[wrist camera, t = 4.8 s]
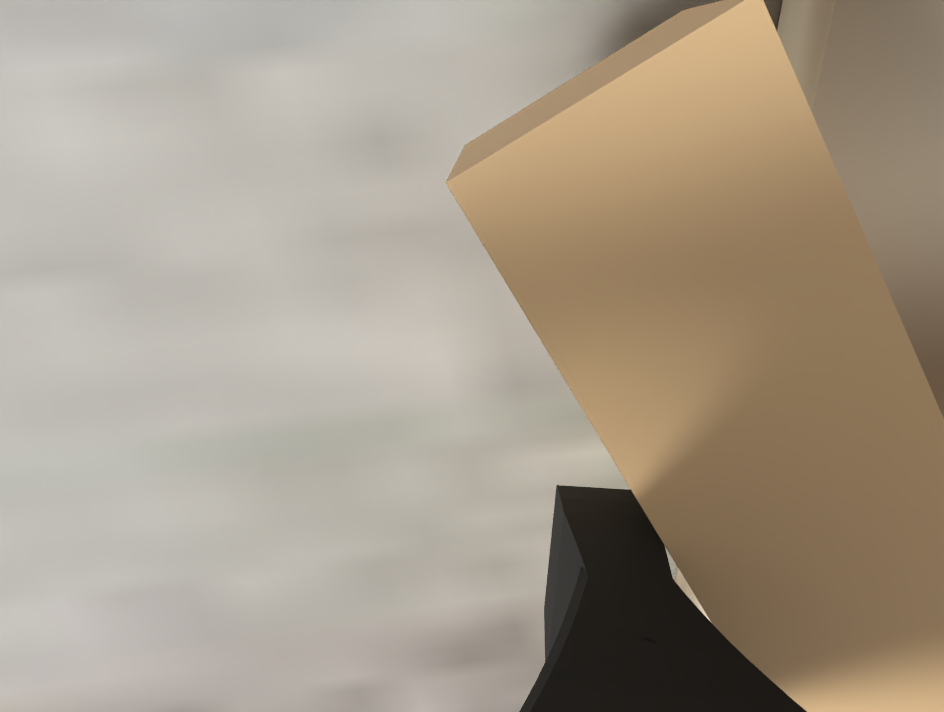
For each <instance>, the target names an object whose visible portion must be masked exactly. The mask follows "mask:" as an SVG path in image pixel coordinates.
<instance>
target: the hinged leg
mask: <svg viewBox="0 0 944 712" xmlns="http://www.w3.org/2000/svg"><path fill="white" fill-rule="evenodd" d="M446 184H447V186H448V188H449V189H450V191H451V193H452V194H453V196H454V198H455V199H456V201H457V203H458V204H459V206H460V207H461V209H462V211H463V212H464V214H465V216H466V217H467V219H468V221H469V222H470V224H471V226H472V227H473V229H474V231H475V232H476V234H477V236H478V237H479V239H480V241H481V242H482V244H483V246H484V247H485V249H486V251H487V252H488V254H489V255H490V257H491V259H492V260H493V262H494V264H495V265H496V267H497V269H498V270H499V272H500V274H501V275H502V277H503V279H504V280H505V282H506V284H507V285H508V287H509V289H510V290H511V292H512V294H513V295H514V297H515V298H516V300H517V302H518V303H519V305H520V307H521V308H522V310H523V312H524V313H525V315H526V317H527V318H528V320H529V322H530V323H531V325H532V327H533V328H534V330H535V332H536V333H537V335H538V337H539V338H540V340H541V342H542V343H543V345H544V346H545V348H546V350H547V351H548V353H549V355H550V356H551V358H552V360H553V361H554V363H555V365H556V366H557V368H558V370H559V371H560V373H561V375H562V376H563V378H564V380H565V381H566V383H567V385H568V386H569V388H570V390H571V391H572V393H573V394H574V396H575V398H576V399H577V401H578V403H579V404H580V406H581V408H582V409H583V411H584V413H585V414H586V416H587V418H588V419H589V421H590V423H591V424H592V426H593V428H594V429H595V431H596V433H597V434H598V436H599V438H600V439H601V441H602V442H603V444H604V446H605V447H606V449H607V451H608V452H609V454H610V456H611V457H612V459H613V461H614V462H615V464H616V466H617V467H618V469H619V471H620V472H621V474H622V476H623V477H624V479H625V481H626V482H627V484H628V485H629V487H630V489H631V490H632V492H633V494H634V495H635V497H636V499H637V500H638V502H639V504H640V505H641V507H642V509H643V510H644V512H645V514H646V515H647V517H648V519H649V520H650V522H651V524H652V525H653V527H654V529H655V530H656V532H657V533H658V535H659V537H660V538H661V540H662V542H663V543H664V545H665V547H666V548H667V550H668V552H669V553H670V555H671V557H672V558H673V560H674V562H675V563H676V565H677V567H678V568H679V570H680V572H681V573H682V575H683V577H684V578H685V580H686V581H687V583H688V585H689V586H690V588H691V590H692V591H693V593H694V595H695V596H696V598H697V600H698V601H699V603H700V605H701V606H702V608H703V610H704V611H705V613H706V615H707V616H708V618H709V620H710V621H711V623H712V624H713V625H714V626H715V627H716V628H717V629H718V630H719V631H720V632H721V633H722V634H723V635H724V636H725V637H726V639H727V640H728V641H729V642H730V643H731V644H733V645H734V646H735V647H736V648H737V649H738V650H739V651H740V652H741V653H742V654H743V655H744V656H745V657H746V658H747V659H748V660H749V661H750V662H751V663H752V664H754V665H755V666H756V667H757V668H758V669H759V670H760V671H761V672H762V673H764V674H765V675H766V676H767V677H768V678H769V679H770V680H771V681H772V682H774V683H775V684H776V685H777V686H778V687H779V688H780V689H781V690H783V691H784V692H785V693H786V694H787V695H788V696H789V697H790V698H791V699H793V700H794V701H795V702H796V703H797V704H798V705H800V706H801V707H802V708H803V709H805V710H806V711H807V712H944V418H943V416H942V413H941V411H940V409H939V407H938V404H937V402H936V400H935V397H934V395H933V393H932V390H931V388H930V386H929V383H928V381H927V379H926V376H925V374H924V372H923V369H922V367H921V365H920V362H919V360H918V358H917V355H916V353H915V351H914V349H913V346H912V344H911V342H910V339H909V337H908V335H907V332H906V330H905V328H904V325H903V323H902V321H901V318H900V316H899V314H898V311H897V309H896V307H895V304H894V302H893V300H892V298H891V295H890V293H889V291H888V288H887V286H886V284H885V281H884V279H883V277H882V274H881V272H880V270H879V267H878V265H877V263H876V260H875V258H874V256H873V253H872V251H871V249H870V246H869V244H868V242H867V240H866V237H865V235H864V233H863V230H862V228H861V226H860V223H859V221H858V219H857V216H856V214H855V212H854V209H853V207H852V205H851V202H850V200H849V198H848V195H847V193H846V191H845V188H844V186H843V184H842V182H841V179H840V177H839V175H838V172H837V170H836V168H835V165H834V163H833V161H832V158H831V156H830V154H829V151H828V149H827V147H826V144H825V142H824V140H823V137H822V135H821V133H820V130H819V128H818V126H817V124H816V121H815V119H814V117H813V114H812V112H811V110H810V107H809V105H808V103H807V100H806V98H805V96H804V93H803V91H802V89H801V86H800V84H799V82H798V79H797V77H796V75H795V72H794V70H793V68H792V66H791V63H790V61H789V59H788V56H787V54H786V52H785V49H784V47H783V45H782V42H781V40H780V38H779V35H778V33H777V31H776V28H775V26H774V24H773V21H772V19H771V17H770V14H769V12H768V10H767V8H766V5H765V3H764V1H763V0H722V1H718V2H714V3H710V4H705V5H701V6H697V7H693V8H689V9H685V10H682V11H681V12H679V13H678V14H676V15H674V16H673V17H671V18H670V19H668V20H666V21H665V22H663V23H661V24H660V25H658V26H657V27H655V28H653V29H652V30H650V31H649V32H647V33H645V34H644V35H642V36H640V37H639V38H637V39H636V40H634V41H632V42H631V43H629V44H628V45H626V46H624V47H623V48H621V49H619V50H618V51H616V52H615V53H613V54H611V55H610V56H608V57H607V58H605V59H603V60H602V61H600V62H598V63H597V64H595V65H594V66H592V67H590V68H589V69H587V70H586V71H584V72H582V73H581V74H579V75H577V76H576V77H574V78H573V79H571V80H569V81H568V82H566V83H565V84H563V85H561V86H560V87H558V88H557V89H555V90H553V91H552V92H550V93H548V94H547V95H545V96H544V97H542V98H540V99H539V100H537V101H536V102H534V103H532V104H531V105H529V106H527V107H526V108H524V109H523V110H521V111H519V112H518V113H516V114H515V115H513V116H511V117H510V118H508V119H506V120H505V121H503V122H502V123H500V124H498V125H497V126H495V127H494V128H492V129H490V130H489V131H487V132H485V133H484V134H482V135H481V136H479V137H477V138H476V139H474V140H473V141H471V142H469V143H468V144H466V145H465V146H464V148H463V150H462V152H461V154H460V156H459V158H458V160H457V162H456V164H455V166H454V168H453V169H452V171H451V173H450V175H449V177H448V179H447V181H446Z"/></svg>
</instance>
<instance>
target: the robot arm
mask: <svg viewBox="0 0 944 712" xmlns="http://www.w3.org/2000/svg"><path fill="white" fill-rule="evenodd" d="M544 620H545V664H544V666H543V668H542V670H541V672H540V674H539V677H538V679H537V681H536V682H535V684H534V686H533V688H532V690H531V692H530V694H529V695H528V697H527V699H526V701H525V703H524V704H523V706H522V708H521V710H520V712H807V711H806V710H805V709H803V708H802V707H801V706H800V705H798V704H797V703H796V702H795V701H794V700H793V699H791V698H790V697H789V696H788V695H787V694H786V693H785V692H784V691H783V690H781V689H780V688H779V687H778V686H777V685H776V684H775V683H774V682H772V681H771V680H770V679H769V678H768V677H767V676H766V675H765V674H764V673H762V672H761V671H760V670H759V669H758V668H757V667H756V666H755V665H754V664H752V663H751V662H750V661H749V660H748V659H747V658H746V657H745V656H744V655H743V654H742V653H741V652H740V651H739V650H738V649H737V648H736V647H735V646H734V645H733V644H731V643H730V642H729V641H728V640H727V639H726V637H725V636H724V635H723V634H722V633H721V632H720V631H719V630H718V629H717V628H716V627H715V626H714V625H713V624H712V623H711V622H710V621H709V620H708V619H707V617H706V616H705V615H704V614H703V613H702V612H701V611H700V610H699V609H698V608H697V606H696V605H695V604H694V603H693V602H692V601H691V600H690V599H689V597H688V596H687V595H686V594H685V593H684V592H683V590H682V589H681V588H680V587H679V586H678V584H677V583H676V582H675V581H674V580H673V578H672V574H671V570H670V566H669V562H668V558H667V554H666V550H665V546H664V543H663V542H662V540H661V538H660V537H659V535H658V533H657V532H656V530H655V529H654V527H653V525H652V524H651V522H650V520H649V519H648V517H647V515H646V514H645V512H644V510H643V509H642V507H641V505H640V504H639V502H638V500H637V499H636V497H635V495H634V494H633V492H632V490H624V489H607V488H591V487H575V486H559V485H557V487H556V497H555V507H554V517H553V527H552V537H551V547H550V557H549V567H548V577H547V586H546V596H545V606H544Z"/></svg>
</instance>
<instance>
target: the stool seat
mask: <svg viewBox="0 0 944 712" xmlns="http://www.w3.org/2000/svg"><path fill="white" fill-rule="evenodd" d="M777 33H778V35H779V38H780V40H781V42H782V45H783V47H784V49H785V52H786V54H787V56H788V59H789V61H790V63H791V66H792V68H793V70H794V72H795V75H796V77H797V79H798V82H799V84H800V86H801V89H802V91H803V93H804V96H805V98H806V100H807V103H808V105H809V107H810V110H811V112H812V114H813V117H814V119H815V121H816V124H817V126H818V128H819V130H820V133H821V135H822V137H823V140H824V142H825V144H826V147H827V149H828V151H829V154H830V156H831V158H832V161H833V163H834V165H835V168H836V170H837V172H838V175H839V177H840V179H841V182H842V184H843V186H844V188H845V191H846V193H847V195H848V198H849V200H850V202H851V205H852V207H853V209H854V212H855V214H856V216H857V219H858V221H859V223H860V226H861V228H862V230H863V233H864V235H865V237H866V240H867V242H868V244H869V246H870V249H871V251H872V253H873V256H874V258H875V260H876V263H877V265H878V267H879V270H880V272H881V274H882V277H883V279H884V281H885V284H886V286H887V288H888V291H889V293H890V295H891V298H892V300H893V302H894V304H895V307H896V309H897V311H898V314H899V316H900V318H901V321H902V323H903V325H904V328H905V330H906V332H907V335H908V337H909V339H910V342H911V344H912V346H913V349H914V351H915V353H916V355H917V358H918V360H919V362H920V365H921V367H922V369H923V372H924V374H925V376H926V379H927V381H928V383H929V386H930V388H931V390H932V393H933V395H934V397H935V400H936V402H937V404H938V407H939V409H940V411H941V413H942V416H943V418H944V0H783V2H782V7H781V13H780V18H779V23H778V29H777ZM676 583H677V584H678V586H679V587H680V588H681V589H682V590H683V592H684V593H685V594H686V595H687V596H688V597H689V599H690V600H691V601H692V602H693V603H694V604H695V605H696V606H697V608H698V609H699V610H700V611H701V612H702V613H703V614H704V615H705V616H706V617H707V619H708V620H709V618H708V616H707V615H706V613H705V611H704V610H703V608H702V606H701V605H700V603H699V601H698V600H697V598H696V596H695V595H694V593H693V591H692V590H691V588H690V586H689V585H688V583H687V581H686V580H685V578H684V577H683V575H682V573H681V572H680V570H679V568H678V571H677V577H676ZM709 621H710V620H709ZM710 622H711V621H710Z"/></svg>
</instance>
